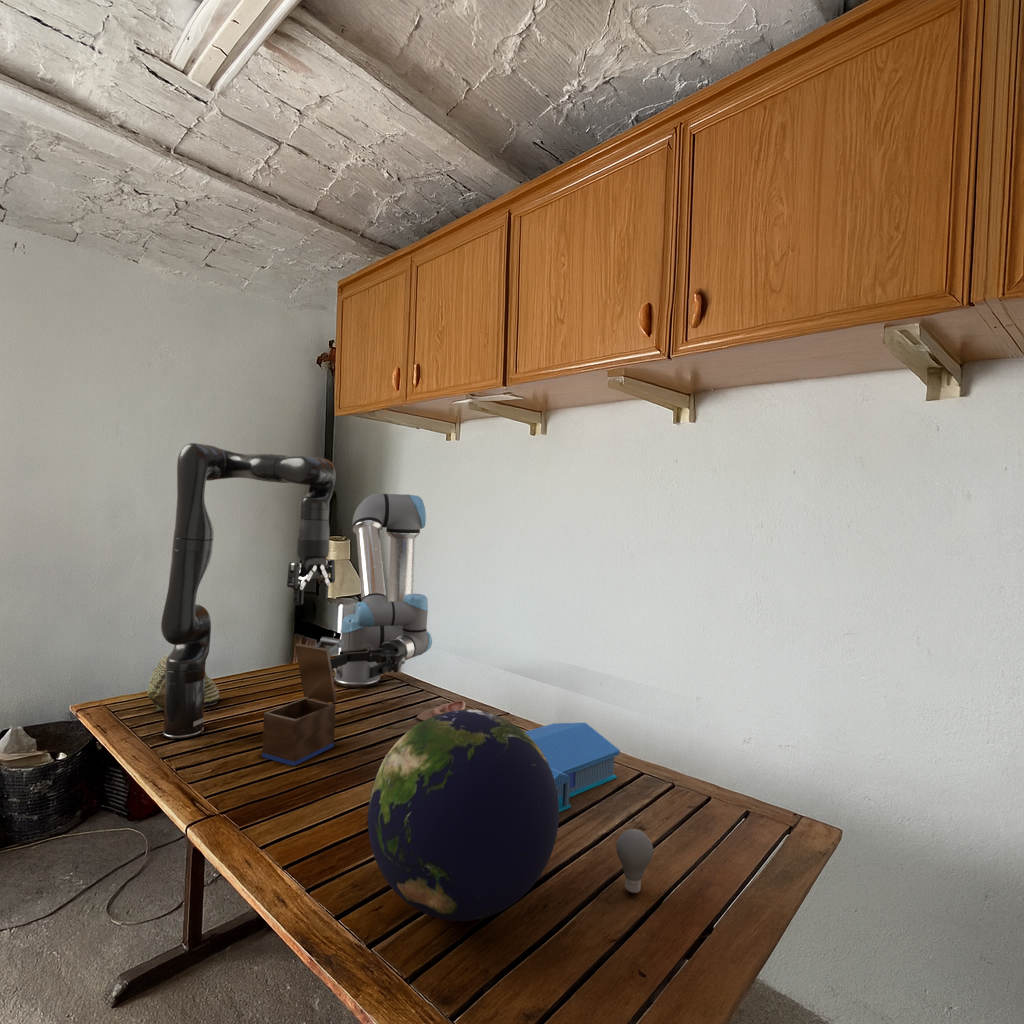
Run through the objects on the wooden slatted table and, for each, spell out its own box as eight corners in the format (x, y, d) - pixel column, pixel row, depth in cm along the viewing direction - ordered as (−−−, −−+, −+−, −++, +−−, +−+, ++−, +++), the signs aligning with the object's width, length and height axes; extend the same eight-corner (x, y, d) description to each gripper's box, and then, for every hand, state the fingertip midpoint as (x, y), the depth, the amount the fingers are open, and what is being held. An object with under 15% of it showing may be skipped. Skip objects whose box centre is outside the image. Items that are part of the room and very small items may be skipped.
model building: (501, 837, 120) (504, 785, 120) (427, 790, 139) (429, 744, 138) (628, 782, 147) (630, 739, 147) (552, 748, 165) (553, 710, 165)
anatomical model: (413, 707, 181) (426, 695, 192) (412, 720, 181) (426, 708, 192) (457, 712, 178) (468, 699, 189) (457, 726, 178) (468, 713, 189)
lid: (326, 650, 156) (348, 635, 164) (294, 645, 160) (318, 630, 168) (334, 703, 160) (356, 686, 168) (303, 696, 164) (326, 680, 172)
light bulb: (610, 879, 108) (613, 822, 108) (644, 879, 109) (647, 822, 109) (619, 902, 102) (622, 840, 102) (655, 901, 103) (658, 840, 103)
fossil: (144, 707, 182) (145, 655, 182) (212, 696, 194) (213, 647, 194) (151, 716, 175) (153, 662, 175) (221, 703, 188) (223, 653, 188)
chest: (294, 766, 148) (295, 720, 148) (262, 757, 152) (263, 712, 152) (334, 746, 161) (335, 704, 160) (303, 738, 165) (305, 697, 165)
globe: (322, 932, 92) (330, 728, 92) (425, 835, 120) (432, 678, 119) (512, 1001, 81) (522, 769, 81) (577, 877, 109) (585, 703, 108)
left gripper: (304, 539, 149) (302, 608, 150) (344, 537, 162) (341, 600, 163) (280, 537, 153) (278, 604, 153) (321, 535, 165) (319, 597, 166)
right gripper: (430, 670, 186) (387, 690, 167) (362, 656, 197) (314, 673, 177) (431, 645, 186) (388, 662, 167) (363, 632, 196) (315, 647, 177)
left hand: (311, 602), depth 158 cm, fingers open, 8 cm apart
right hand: (350, 668), depth 172 cm, fingers open, 13 cm apart
